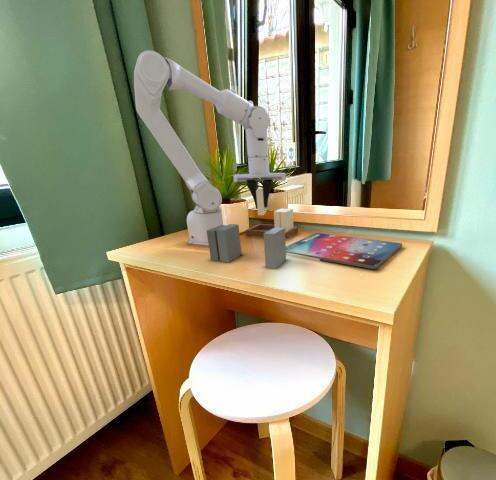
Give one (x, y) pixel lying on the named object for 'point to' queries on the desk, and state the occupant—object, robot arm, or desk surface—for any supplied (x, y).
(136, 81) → the robot arm
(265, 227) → the book tray
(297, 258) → the desk surface
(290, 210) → the white books
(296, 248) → the tablet
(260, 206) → the white book
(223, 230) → the grey books
